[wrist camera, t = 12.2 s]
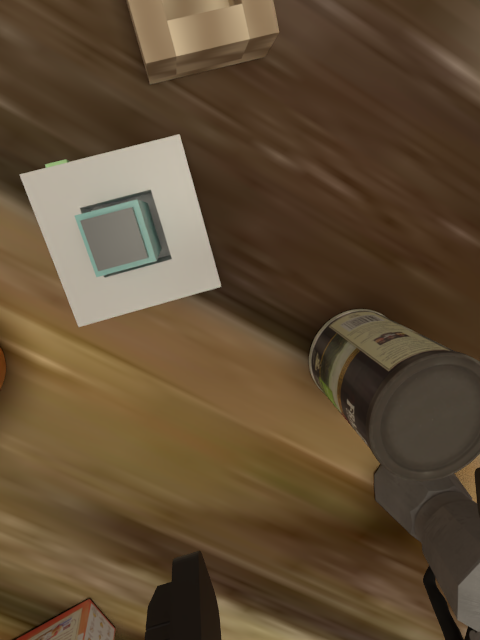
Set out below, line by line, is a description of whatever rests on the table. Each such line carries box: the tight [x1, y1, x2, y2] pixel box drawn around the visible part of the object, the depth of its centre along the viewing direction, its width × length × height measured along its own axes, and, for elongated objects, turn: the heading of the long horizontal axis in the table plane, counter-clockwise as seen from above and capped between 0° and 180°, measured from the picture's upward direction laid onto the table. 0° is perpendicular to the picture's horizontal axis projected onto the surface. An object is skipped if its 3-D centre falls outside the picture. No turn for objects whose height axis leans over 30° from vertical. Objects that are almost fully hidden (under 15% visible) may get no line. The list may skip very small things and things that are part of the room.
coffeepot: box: [374, 465, 480, 640], centre depth 40 cm, size 15×9×18 cm, turn 165°
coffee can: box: [309, 309, 480, 482], centre depth 36 cm, size 10×10×14 cm
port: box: [20, 134, 221, 327], centre depth 34 cm, size 12×12×5 cm
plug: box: [75, 199, 162, 277], centre depth 31 cm, size 4×4×11 cm
